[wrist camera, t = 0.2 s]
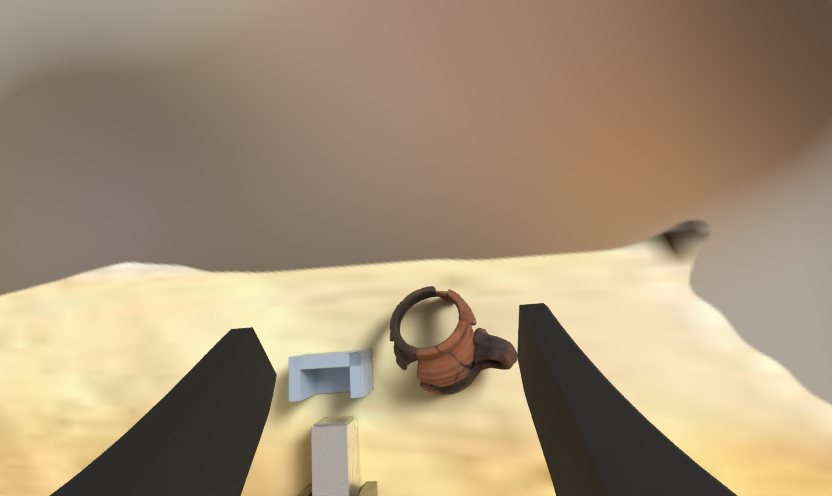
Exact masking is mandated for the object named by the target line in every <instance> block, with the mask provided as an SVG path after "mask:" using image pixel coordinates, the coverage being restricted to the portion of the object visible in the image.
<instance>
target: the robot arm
mask: <svg viewBox="0 0 832 496" xmlns="http://www.w3.org/2000/svg"><path fill="white" fill-rule="evenodd" d="M518 363H519V368H520V373H521V378H522V383H523V388H524V392H525V396H526V399H527V403H528V406H529V409H530V412H531V416H532V419H533V422H534V425H535V428H536V431H537V435H538V438H539V441H540V444H541V447H542V450H543V454H544V457H545V460H546V463H547V466H548V469H549V472H550V476H551V479H552V482H553V486H554V489H555V493H556V496H737V495H736V494H735V493H733V492H732V491H731V490H730V489H728V488H727V487H726V486H724V485H723V484H722V483H721V482H719V481H718V480H717V479H716V478H714V477H713V476H712V475H711V474H709V473H708V472H707V471H706V470H704V469H703V468H702V467H700V466H699V465H698V464H697V463H696V462H695V461H693V460H692V459H691V458H690V457H689V456H688V455H686V454H685V453H684V452H683V451H682V450H681V449H679V448H678V447H677V446H676V445H675V444H674V443H672V442H671V441H670V440H669V439H668V438H667V437H666V436H665V435H664V434H662V433H661V432H660V431H659V430H658V429H657V428H656V427H655V426H654V425H653V424H651V423H650V422H649V421H648V420H647V419H646V418H645V417H644V416H643V415H642V414H641V413H640V412H639V411H638V410H637V409H636V408H635V407H634V406H633V405H632V404H631V403H630V402H629V401H628V400H627V399H626V398H625V397H624V396H623V395H622V394H621V393H620V392H619V391H618V390H617V389H616V388H615V387H614V386H613V385H612V384H611V383H610V382H609V381H608V379H607V378H606V377H605V376H604V375H603V374H602V373H601V372H600V371H599V370H598V368H597V367H596V366H595V365H594V364H593V363H592V362H591V361H590V359H589V358H588V357H587V356H586V355H585V354H584V353H583V351H582V350H581V349H580V348H579V347H578V346H577V344H576V343H575V342H574V341H573V339H572V338H571V337H570V336H569V334H568V333H567V332H566V331H565V329H564V328H563V327H562V326H561V324H560V323H559V322H558V320H557V319H556V318H555V316H554V315H553V314H552V312H551V311H550V309H549V308H548V307H547V306H546V305H545V304H544V303H539V304H527V305H519V329H518ZM276 376H277V375H276V373H275V371H274V369H273V367H272V365H271V363H270V361H269V359H268V357H267V355H266V353H265V351H264V349H263V347H262V345H261V343H260V341H259V339H258V337H257V335H256V333H255V331H254V329H253V327H251V328H239V329H231V330H230V331H229V332H228V333H227V334H226V335H225V336H224V337H223V338H222V339H221V340H220V341H219V342H218V343H217V344H216V345H215V346H214V347H213V348H212V349H211V350H210V351H209V352H208V353H207V354H206V355H205V356H204V357H203V358H202V359H201V360H200V361H199V362H198V363H197V364H196V365H195V366H194V367H193V368H192V369H191V370H190V371H189V372H188V373H187V374H186V375H185V376H184V377H183V378H182V379H181V380H180V381H179V383H178V384H177V385H176V386H175V387H174V388H173V389H172V390H171V391H170V392H169V393H168V394H167V395H166V396H165V397H164V398H163V399H161V400H160V401H159V402H158V403H157V404H156V405H155V406H154V407H153V408H152V409H151V410H150V411H149V412H148V413H147V414H146V415H145V416H143V417H142V418H141V419H140V420H139V421H138V422H137V423H136V424H135V425H134V426H133V427H132V428H131V429H130V430H129V431H128V432H126V433H125V434H124V435H123V436H122V437H121V438H120V439H119V440H118V441H116V442H115V443H114V444H113V445H112V446H111V447H109V448H108V449H107V450H106V451H105V452H104V453H103V454H101V455H100V456H99V457H98V458H97V459H95V460H94V461H93V462H92V463H91V464H89V465H88V466H87V467H86V468H85V469H83V470H82V471H81V472H80V473H78V474H77V475H76V476H75V477H73V478H72V479H71V480H70V481H68V482H67V483H66V484H65V485H63V486H62V487H61V488H59V489H58V490H57V491H55V492H54V493H53V494H51V495H50V496H240V495H241V493H242V490H243V487H244V484H245V481H246V478H247V475H248V472H249V470H250V467H251V464H252V461H253V458H254V455H255V452H256V449H257V446H258V444H259V441H260V438H261V435H262V432H263V429H264V426H265V423H266V420H267V417H268V414H269V410H270V406H271V401H272V397H273V392H274V387H275V381H276Z"/></svg>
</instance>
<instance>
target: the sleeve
mask: <svg viewBox="0 0 832 496" xmlns="http://www.w3.org/2000/svg"><path fill="white" fill-rule="evenodd" d="M298 496H312V484H309V485H308V486H307V487H306V488H305V489H304V490H303V491H302V492H301V493H300V494H299V495H298ZM358 496H377V481H374V482H366V484H365V485H364V487H363V488H362V490H361V491H360V493H359V495H358Z"/></svg>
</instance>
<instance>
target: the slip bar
mask: <svg viewBox="0 0 832 496" xmlns="http://www.w3.org/2000/svg"><path fill="white" fill-rule="evenodd" d="M311 446H312V496H358V495H359V472H358V446H357V419H356V418H354V416H345V417H326V418H323V419H322V420H320V421H319V422H317V423H316V424H314V426H313V427H311Z"/></svg>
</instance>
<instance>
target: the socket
mask: <svg viewBox="0 0 832 496" xmlns="http://www.w3.org/2000/svg"><path fill="white" fill-rule="evenodd" d="M371 391H373V370H372V350H361V351H346V352H332V353H317V354H305V355H299V356H293V357H289V402H292V401H301V400H304V399H306V398H308V397H310V396H313V395H315V394H319V393H336V392H351V398H362V397H364V396H365V395H367V394H368V393H370V392H371Z"/></svg>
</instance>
